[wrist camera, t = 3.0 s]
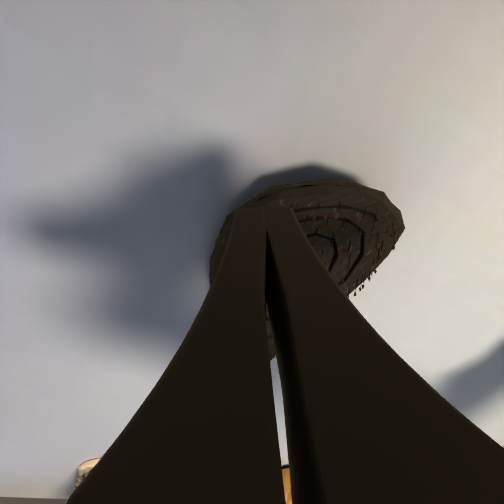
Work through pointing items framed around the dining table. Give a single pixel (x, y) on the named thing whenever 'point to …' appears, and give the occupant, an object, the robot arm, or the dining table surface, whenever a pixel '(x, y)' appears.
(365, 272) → the hairbrush
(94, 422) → the dining table surface
